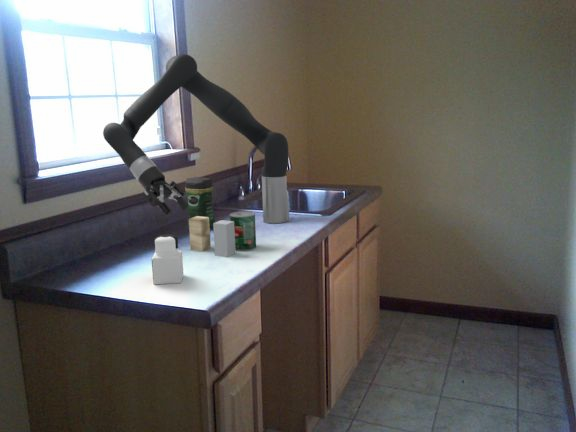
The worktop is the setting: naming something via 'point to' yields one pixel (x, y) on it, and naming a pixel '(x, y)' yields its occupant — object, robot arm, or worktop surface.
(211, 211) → the coffee jar
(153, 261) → the medicine bottle
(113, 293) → the worktop surface
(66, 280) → the worktop surface
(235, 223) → the canned tomato
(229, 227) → the grey block
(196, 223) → the maple block
